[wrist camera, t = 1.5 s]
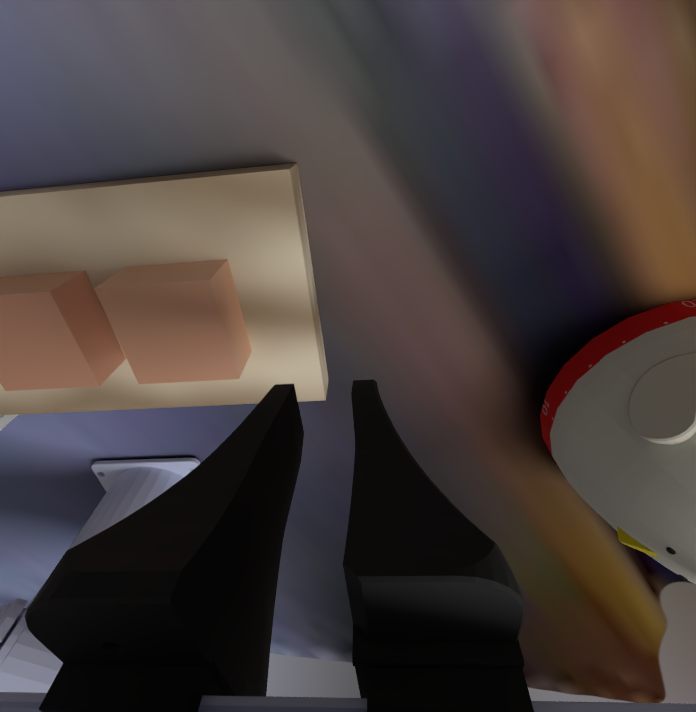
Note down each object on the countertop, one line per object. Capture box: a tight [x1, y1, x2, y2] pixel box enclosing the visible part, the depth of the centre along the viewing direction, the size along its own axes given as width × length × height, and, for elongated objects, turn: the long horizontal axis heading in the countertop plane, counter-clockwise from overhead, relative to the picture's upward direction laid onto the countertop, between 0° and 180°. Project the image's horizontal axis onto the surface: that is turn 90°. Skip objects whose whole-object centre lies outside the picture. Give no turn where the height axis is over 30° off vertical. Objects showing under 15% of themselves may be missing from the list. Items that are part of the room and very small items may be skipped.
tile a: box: [94, 259, 252, 384], centre depth 19 cm, size 5×5×2 cm
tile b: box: [0, 270, 126, 391], centre depth 19 cm, size 5×5×2 cm
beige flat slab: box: [0, 163, 329, 415], centre depth 21 cm, size 12×20×2 cm, turn 95°
